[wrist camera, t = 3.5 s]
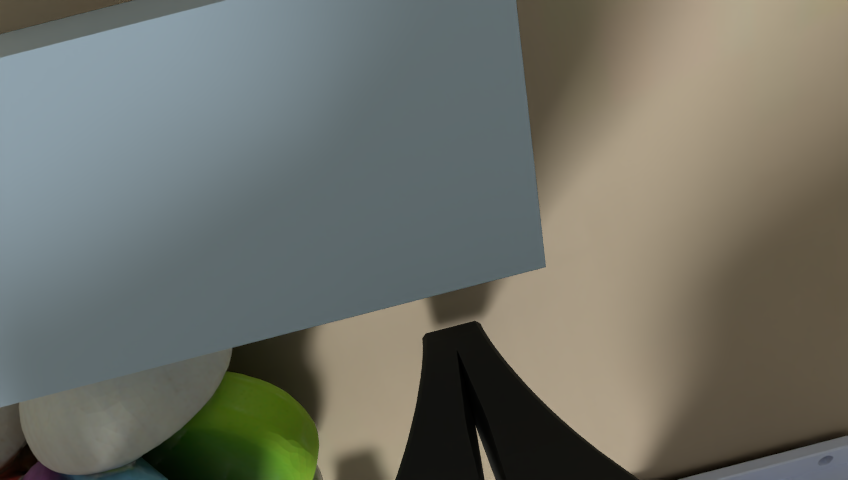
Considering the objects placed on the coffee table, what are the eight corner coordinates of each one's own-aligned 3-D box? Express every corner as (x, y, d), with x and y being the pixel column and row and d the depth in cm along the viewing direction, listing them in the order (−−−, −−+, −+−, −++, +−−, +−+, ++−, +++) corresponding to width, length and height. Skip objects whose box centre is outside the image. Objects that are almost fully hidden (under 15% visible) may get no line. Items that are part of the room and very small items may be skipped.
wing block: (430, -76, 9) (507, -72, 5) (469, 137, 11) (545, 266, 7) (-17, 38, 9) (-322, 139, 5) (104, 230, 11) (-36, 416, 7)
